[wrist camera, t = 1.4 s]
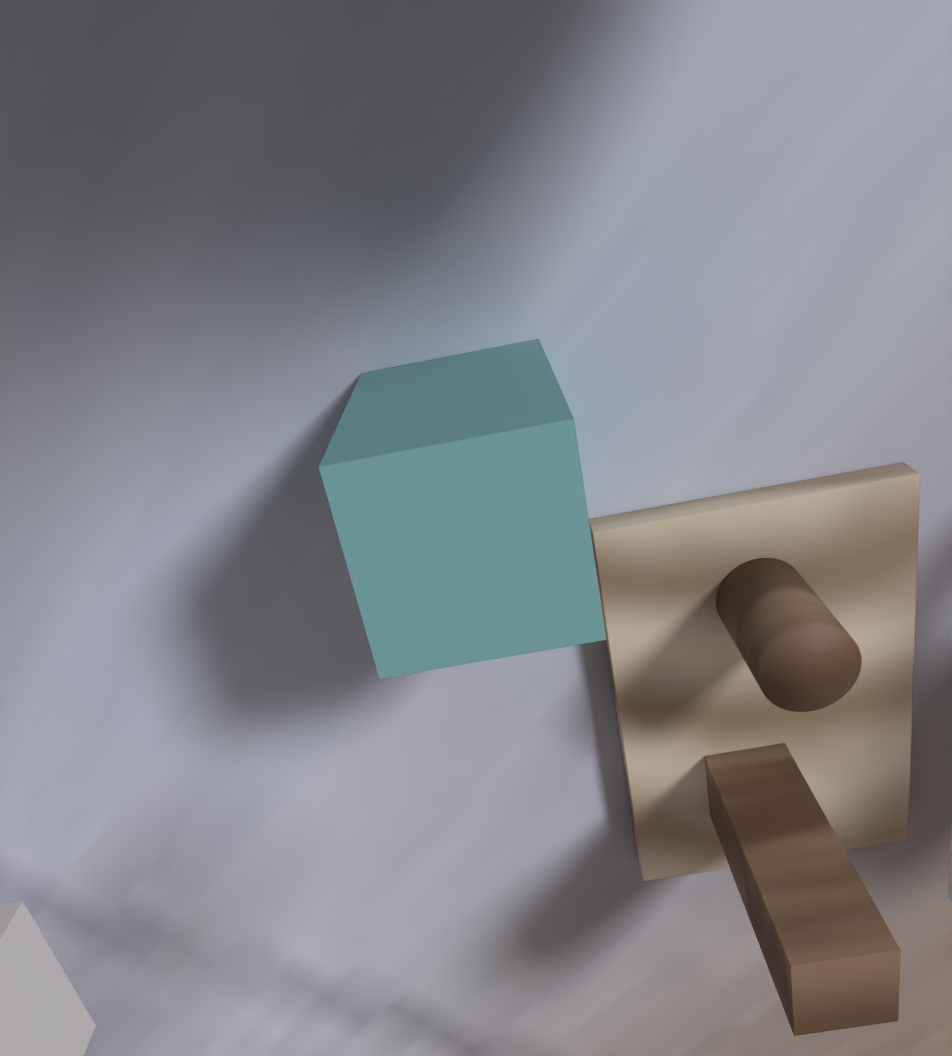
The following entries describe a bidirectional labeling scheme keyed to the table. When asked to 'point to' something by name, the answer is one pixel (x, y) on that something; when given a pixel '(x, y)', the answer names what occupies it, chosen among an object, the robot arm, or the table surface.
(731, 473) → the table surface
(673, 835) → the board
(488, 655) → the teal sharp-edged block
